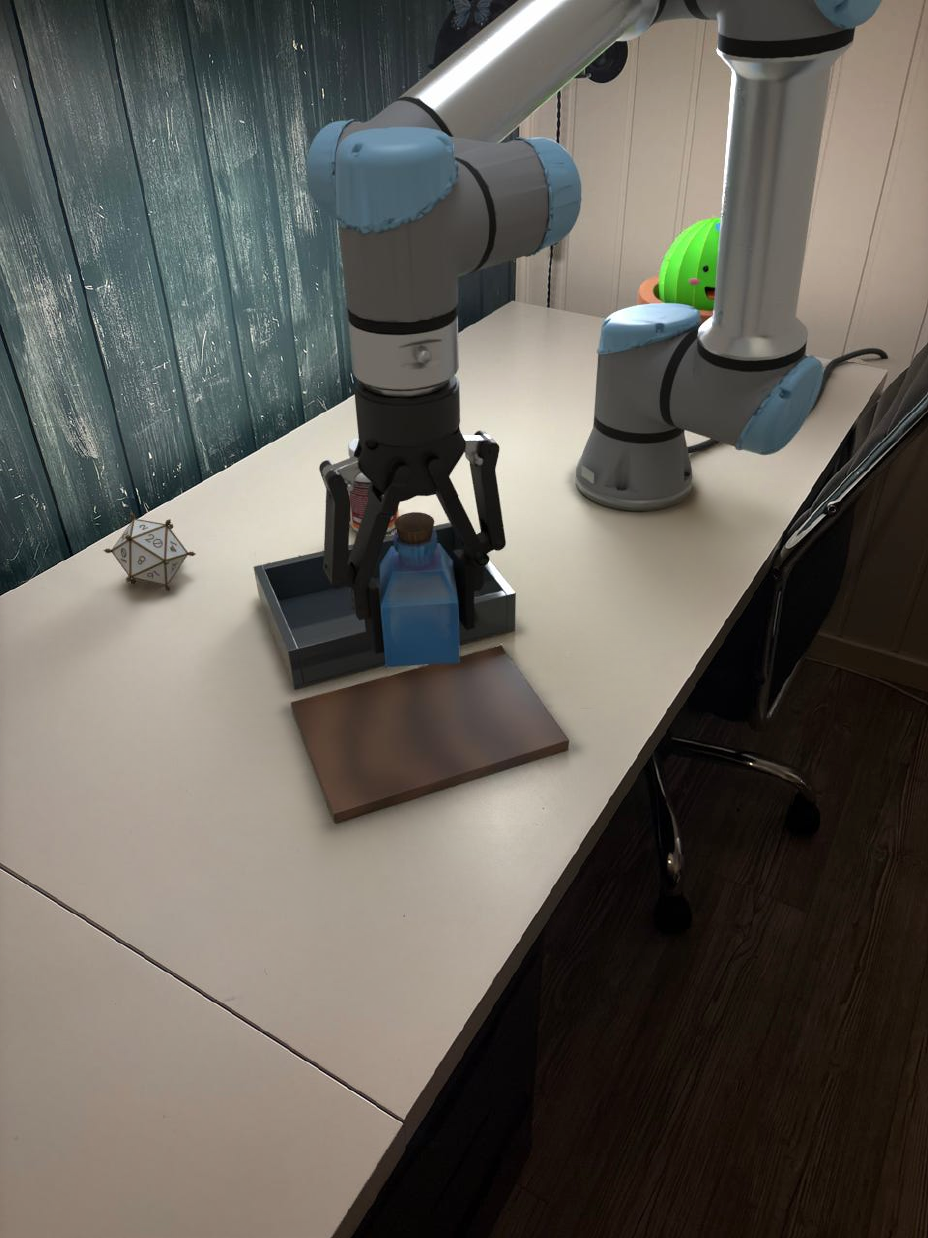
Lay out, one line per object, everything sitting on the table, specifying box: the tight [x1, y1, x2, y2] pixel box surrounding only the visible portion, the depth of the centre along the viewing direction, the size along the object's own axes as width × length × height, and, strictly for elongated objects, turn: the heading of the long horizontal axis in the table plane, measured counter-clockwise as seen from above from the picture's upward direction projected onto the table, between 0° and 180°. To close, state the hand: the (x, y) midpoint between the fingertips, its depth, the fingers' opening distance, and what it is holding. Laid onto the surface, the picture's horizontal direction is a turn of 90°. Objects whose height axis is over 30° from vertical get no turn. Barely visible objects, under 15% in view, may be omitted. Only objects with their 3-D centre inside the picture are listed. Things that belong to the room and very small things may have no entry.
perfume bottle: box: [380, 511, 461, 668], centre depth 76 cm, size 6×6×12 cm
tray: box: [253, 521, 517, 690], centre depth 99 cm, size 24×16×5 cm, turn 112°
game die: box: [102, 511, 197, 593], centre depth 104 cm, size 9×8×10 cm
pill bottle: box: [347, 437, 400, 534], centre depth 112 cm, size 6×6×11 cm
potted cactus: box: [636, 213, 721, 326], centre depth 145 cm, size 22×22×25 cm
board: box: [290, 644, 570, 824], centre depth 85 cm, size 22×15×1 cm
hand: (420, 631), depth 79 cm, fingers closed on perfume bottle, 7 cm apart
